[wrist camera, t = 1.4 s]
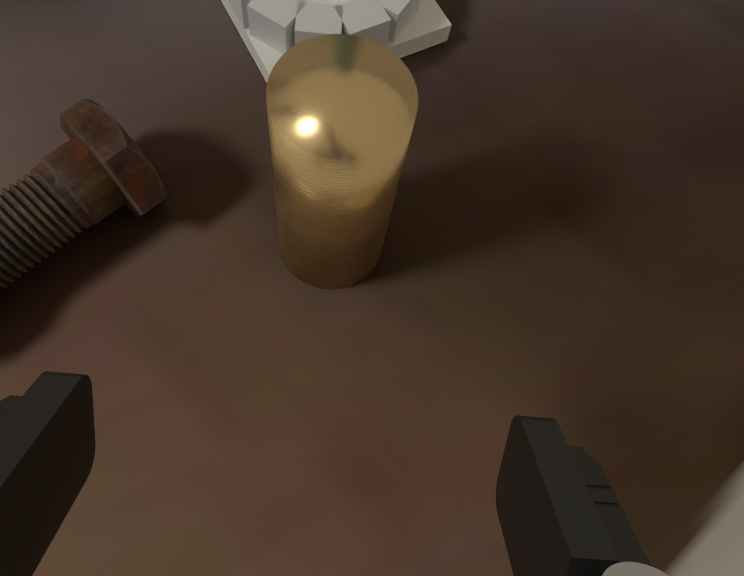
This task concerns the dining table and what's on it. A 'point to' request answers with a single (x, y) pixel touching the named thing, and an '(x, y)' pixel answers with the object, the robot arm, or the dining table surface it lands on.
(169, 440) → the dining table surface
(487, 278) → the dining table surface
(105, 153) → the bolt
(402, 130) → the cylinder
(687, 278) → the dining table surface
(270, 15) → the seat block
